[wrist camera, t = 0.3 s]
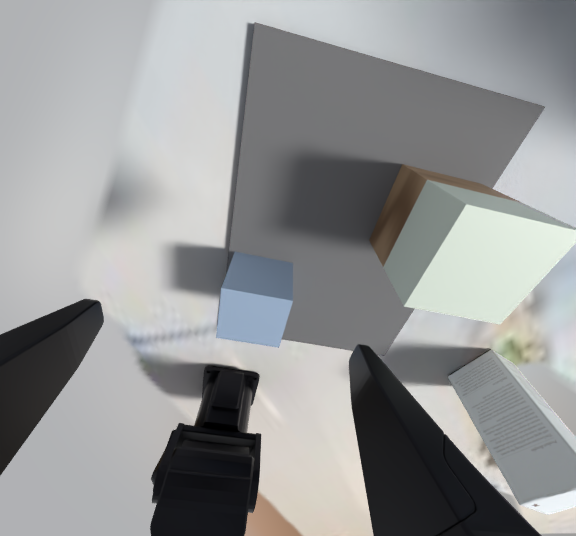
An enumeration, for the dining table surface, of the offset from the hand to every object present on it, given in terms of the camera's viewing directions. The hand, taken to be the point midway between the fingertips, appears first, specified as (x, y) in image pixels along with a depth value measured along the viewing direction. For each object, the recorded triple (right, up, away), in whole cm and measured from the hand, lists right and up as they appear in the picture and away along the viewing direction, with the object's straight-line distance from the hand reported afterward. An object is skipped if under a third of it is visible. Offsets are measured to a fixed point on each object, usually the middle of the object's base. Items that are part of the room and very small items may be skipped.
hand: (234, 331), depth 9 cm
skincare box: (+24, -9, +21) cm, 34 cm away
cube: (-1, +1, +14) cm, 14 cm away
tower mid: (+12, +4, +7) cm, 15 cm away
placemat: (+6, +4, +13) cm, 15 cm away
